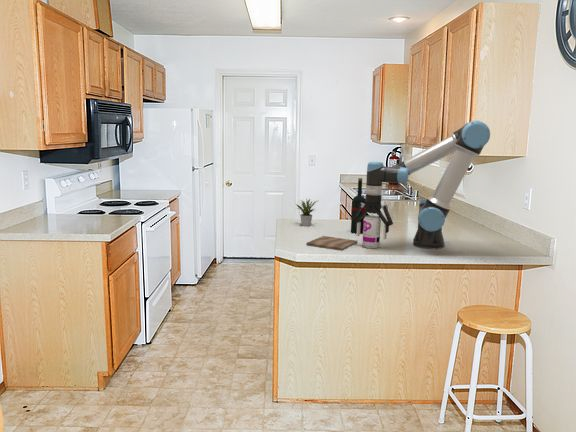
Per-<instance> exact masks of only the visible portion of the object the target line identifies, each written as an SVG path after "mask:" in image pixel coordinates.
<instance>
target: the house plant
mask: <svg viewBox="0 0 576 432" xmlns="http://www.w3.org/2000/svg"><path fill="white" fill-rule="evenodd" d="M305 200H306V202H305V201H304V200H301V205H299V204H296V203H294V204H295V206H296V207H297V210H301V214H300V225H301V226H302V227H311V224H312V220H313V214H311V213H312V212H315V209H314V208H313V207H314V205H315V204H316V203H317V202H318V200H316V201H315V200H314V201H311V199H310V198H309V199H307V198H306V199H305ZM310 201H311V202H310ZM297 203H299V201H297Z"/></svg>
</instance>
